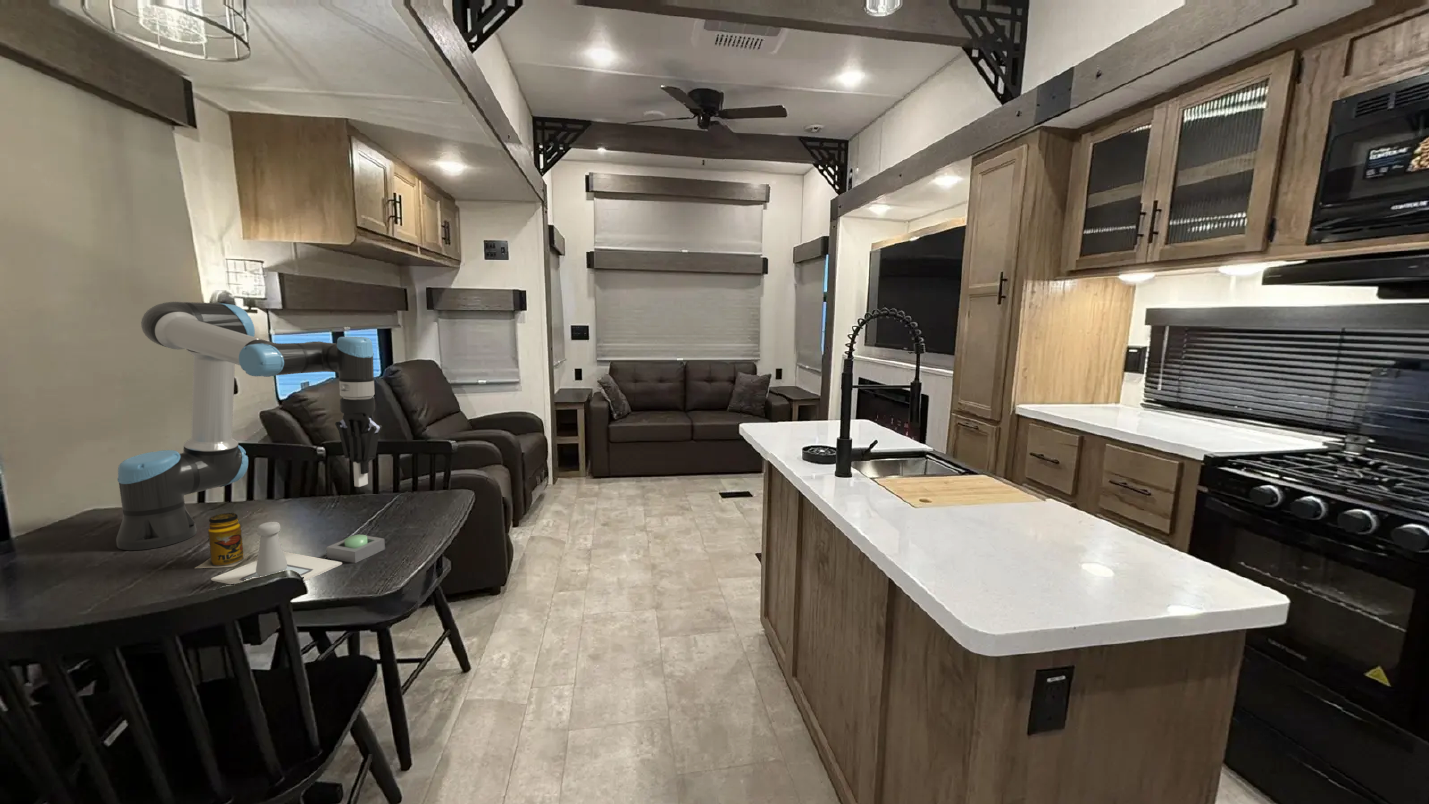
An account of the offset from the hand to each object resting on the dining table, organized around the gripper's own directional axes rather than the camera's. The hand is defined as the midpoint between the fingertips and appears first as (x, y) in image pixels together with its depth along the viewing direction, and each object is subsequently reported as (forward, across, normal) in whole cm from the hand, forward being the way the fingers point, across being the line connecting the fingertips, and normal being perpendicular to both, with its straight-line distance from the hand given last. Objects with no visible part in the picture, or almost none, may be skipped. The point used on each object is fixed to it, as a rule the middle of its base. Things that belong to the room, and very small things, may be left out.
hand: (361, 485), depth 143 cm
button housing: (+18, +1, -3) cm, 18 cm away
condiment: (+19, -25, -17) cm, 36 cm away
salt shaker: (+18, -5, -20) cm, 27 cm away
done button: (+18, +1, -3) cm, 18 cm away
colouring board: (+18, -7, -17) cm, 26 cm away
